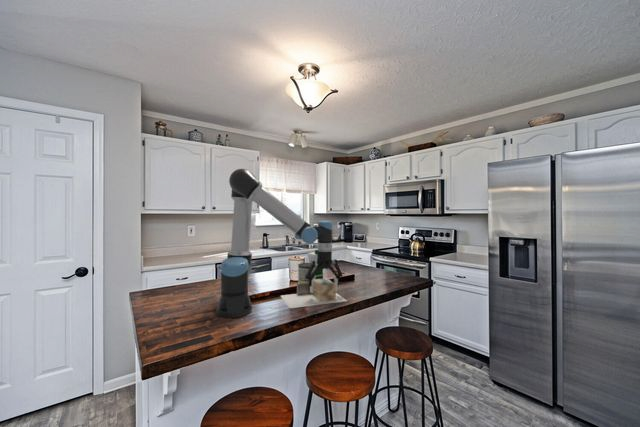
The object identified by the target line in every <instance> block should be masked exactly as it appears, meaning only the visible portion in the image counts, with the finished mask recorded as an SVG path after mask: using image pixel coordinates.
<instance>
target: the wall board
mask: <svg viewBox="0 0 640 427" xmlns="http://www.w3.org/2000/svg"><path fill="white" fill-rule="evenodd" d="M280 297H281V299H282V300H283V301H284V303H285V304H286V305H287V307H288V308H289V309H295V308H296V309H297V308H304V307H310V306H311V307H312V306H319V305H326V304H335V303H342V302H348V300H347V299H346V298H344V297H343V296H341V295H340V294H338V293H337V292H336V300H331V301H323V302H321V301H320V300H318V299H317V298H316V297H315V296H314V295H313V294H305V295H297V293H291V294H285V295H284V294H282V295H280Z"/></svg>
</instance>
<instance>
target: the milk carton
mask: <svg viewBox="0 0 640 427" xmlns="http://www.w3.org/2000/svg"><path fill="white" fill-rule="evenodd" d="M317 251H319V250H318V249H315V250H314V252H313V251H311V252H308V253H307V256H308V263H311V261H312V260H314V261H317ZM317 265H318V264H317V263H316V266H317ZM316 279H324V269H320V270H319V271H318V272H317V274H316Z"/></svg>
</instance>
